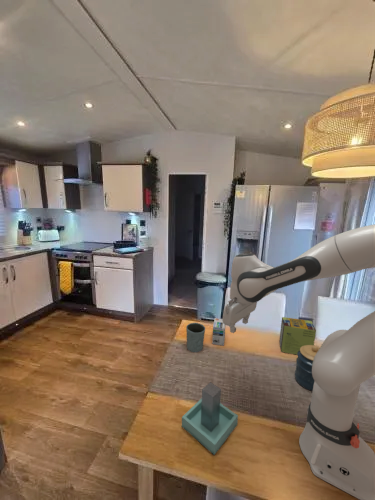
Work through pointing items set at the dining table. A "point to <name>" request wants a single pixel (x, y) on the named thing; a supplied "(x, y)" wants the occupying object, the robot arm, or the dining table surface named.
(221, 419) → the tray
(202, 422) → the brushed steel pillar
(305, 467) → the dining table surface
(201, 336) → the dark green embossed cup
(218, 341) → the light bulb box
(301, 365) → the canister
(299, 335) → the protein box
